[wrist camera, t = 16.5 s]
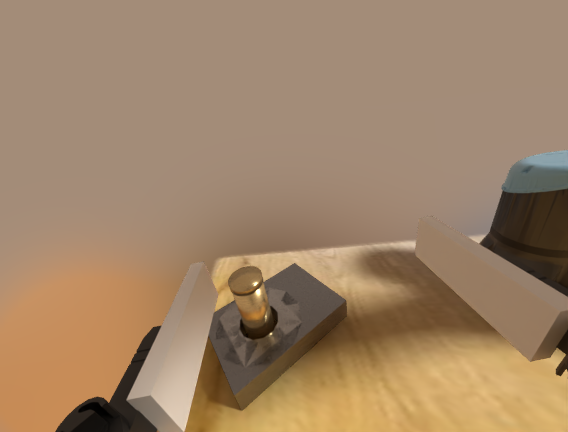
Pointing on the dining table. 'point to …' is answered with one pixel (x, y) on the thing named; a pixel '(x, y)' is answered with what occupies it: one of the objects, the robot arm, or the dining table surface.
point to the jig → (275, 332)
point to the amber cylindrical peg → (252, 301)
